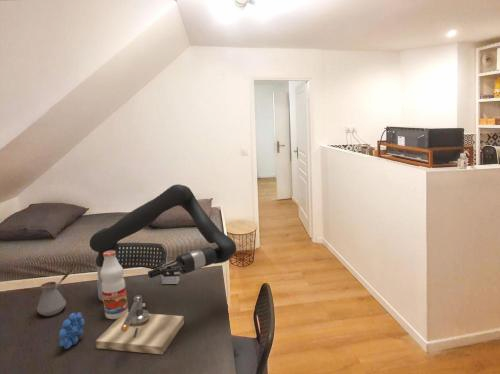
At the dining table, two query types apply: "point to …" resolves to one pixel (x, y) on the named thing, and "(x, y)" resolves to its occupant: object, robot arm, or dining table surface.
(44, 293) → the coffee pot
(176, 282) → the medicine box
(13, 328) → the dining table surface
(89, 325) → the dining table surface
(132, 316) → the metal faucet
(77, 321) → the grapes
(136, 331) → the stand
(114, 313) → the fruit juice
